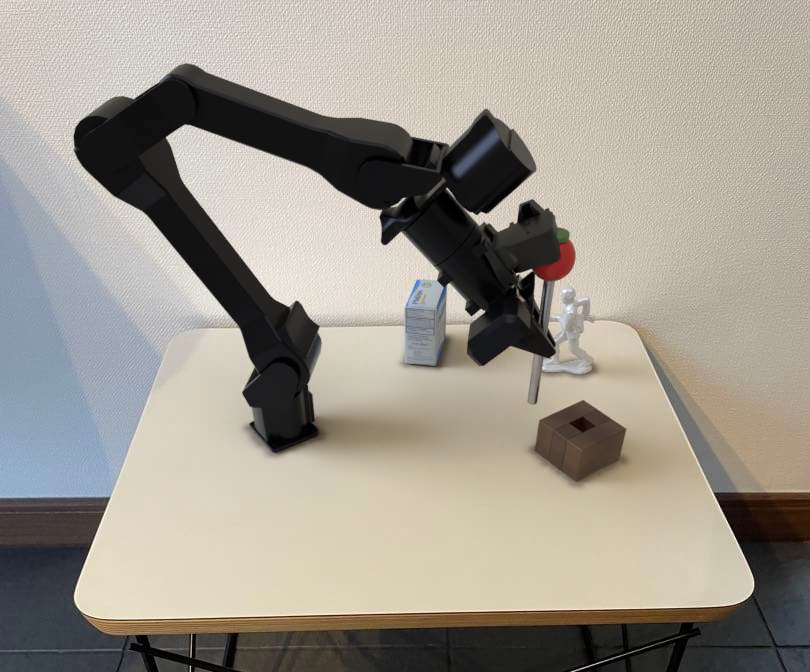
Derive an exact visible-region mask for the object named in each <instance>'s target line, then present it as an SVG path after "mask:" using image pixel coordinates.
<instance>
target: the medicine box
mask: <svg viewBox="0 0 810 672" xmlns="http://www.w3.org/2000/svg"><path fill="white" fill-rule="evenodd" d="M447 297H448V285H446V286H445V287H443V286H442V285H441V284H440V283H439V282H438V281H437V280H433V279H416V280H415V282H414V285H413V288H412V290H411V292H410V294H409V297H408V299H407V301H406V303H405V306H404V311H403V313H404V314H403V315H404V316H403V317H404V319H403V323H404V325H403V326H404V360H405V361H404V362H405V363H406V364H410V365H419V366H429V367H430V366H431V367H436V366H437V365H438V362H439V359H440V355H441V352H442V349H443V346H444V343H445V340H446V333H447V332H446V331H447V300H448V299H447Z"/></svg>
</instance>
